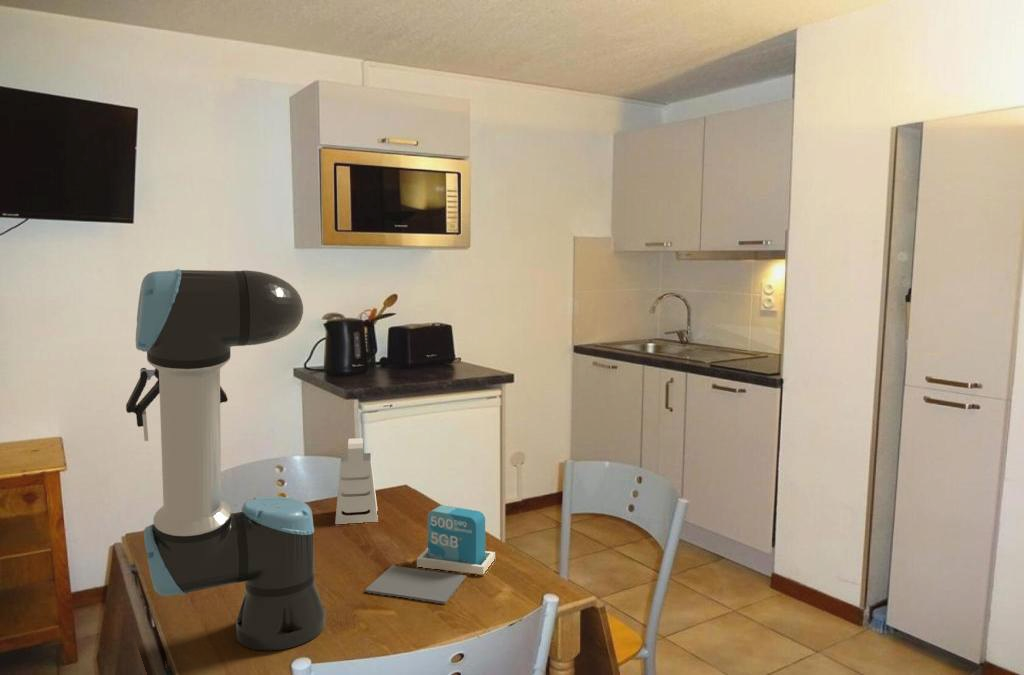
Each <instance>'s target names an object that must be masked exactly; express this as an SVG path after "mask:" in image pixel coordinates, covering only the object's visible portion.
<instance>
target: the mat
mask: <svg viewBox="0 0 1024 675" xmlns="http://www.w3.org/2000/svg"><path fill="white" fill-rule="evenodd" d="M466 577H467V574H460V573H452V572H445V571H437V570H430V569H423V568H414V567H413V568H412V567H406V566H399V565H398V566H397V565H391V566H390V567H389V568H387V569H386V570H385V571H384V572H383V573H382V574H381V575H380V576H378V578H376V580H374V581H373V582H371V584H370V585H368V586H367V588H365V589H364V593H365V592H368V593H367V594H371V593H373V595H377V594H380V595H379V596H384V595H388V596H387V597H391V596H397V597H396V598H398V597H403V598H402V599H404V598H409V599H408V600H411V599H415V600H414V601H418V600H422V601H421V602H425V601H430V602H429V603H431V602H436V603H435V604H438V603H443V604H442V605H447V603H448V602H449V601H450V599H451V598H452V597H453V595H454V594H455V593H456V592H457V591H456V589H457V588H458V587H459V585H460V584H461V583H462V582H463V580H464V579H465V578H466ZM466 579H467V578H466ZM463 583H464V582H463ZM463 583H462V584H463ZM462 584H461V585H462ZM459 588H460V587H459ZM459 588H458V589H459ZM458 589H457V590H458ZM455 591H456V592H455ZM454 592H455V593H454ZM453 593H454V594H453ZM451 596H452V597H451ZM450 597H451V598H450ZM449 598H450V599H449ZM447 601H448V602H447ZM446 602H447V603H446Z"/></svg>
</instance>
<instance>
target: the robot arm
mask: <svg viewBox="0 0 1024 675" xmlns="http://www.w3.org/2000/svg"><path fill="white" fill-rule="evenodd" d="M138 296H139V297H138V304H137V314H136V329H135V348H136V350H138V351H141V352H146V360H147V363H148V364H149V365H151V366H152V367H154V368H155V369H147V368H146V367H142V368H140V370H139V371H140V372H139V373H140V374H139V378H138V381H137V382H136V384H135V387H134V389H133V390H132V392H131V394H130V396H129V397H128V398H129V399H128V400H127V401H126V405H125V410H126V413H128V414H131V413H133V414H135V415H136V416H135V417H136V426H137V427H139V428H140V427H143V438H144V439H143V440H144V442H148V441H149V432H148V421H147V420H148V419H147V408H148V407H149V406H150V404H151V403H152V402H153V401H154V400H155V399H156V398H157V397H158V396H159V411H160V412H159V413H160V415H159V416H160V417H159V418H160V441H161V442H160V443H161V446H160V447H161V468H162V469H161V472H162V473H161V474H162V499H163V501H162V502H163V506H161V507H160V508H159V509H158V510H157V511H156V512H155V514H154V516H153V523H152V524H150V525H148V526H145V528H144V529H143V537H144V538H143V539H144V547H145V551H146V557H147V563H148V569H149V574H150V579H151V583H152V586H153V589H154V592H156V594H157V595H159V596H162V597H169V596H174V595H176V596H177V595H184V596H185V595H188V594H189V593H194V592H198V591H204V590H208V589H213V588H218V587H223V586H228V585H233V584H238V583H243V582H245V590H244V595H243V599H242V602H241V605H240V607H239V608H240V609H239V612H238V615H237V618H236V622H235V636H236V640H237V641H238V643H239V644H241V645H242V646H244V647H246V648H247V649H251V650H255V651H256V650H257V651H280V650H287V649H291V648H295V647H298V646H301V645H303V644H305V643H308V642H309V641H311V640H313V639H315V638H316V637H317V636H319V635H320V634H321V633H322V631H323V630H324V629H325V627H326V610H325V606H324V605H323V603H322V599H321V597H320V594H319V591H318V588H317V586H316V583H315V582H316V581H315V551H314V549H315V548H314V547H315V546H314V545H315V544H314V541H315V540H314V533H315V527H314V519H313V512H312V509H311V507H310V506H309V505H308V504H307V503H306V502H303V501H301V500H299V499H296V498H292V497H286V496H285V497H284V496H260V497H254V498H253V499H249V500H247V501H245V502H243V505H242V508H241V511H239V512H233V513H232V509H231V507H230V505H229V504H228V503H227V502H226V501H225V500H222V478H221V476H222V474H221V473H222V469H221V468H222V466H221V465H222V462H221V459H222V457H221V456H222V455H221V451H222V448H221V442H222V441H221V404H222V403H226V402H228V396H227V394H226V392H225V391H224V389H223V387H222V385H221V369H222V367H224V366H225V365H226V364H227V363H228V362H229V361H230V360H231V349H232V348H231V347H245V346H257V345H261V344H266V343H270V342H275V341H277V340H280V339H283V338H284V337H287V336H289V335H290V334H292V333H293V332H294V331H296V329H297V328H298V327H299V325H300V323H301V321H302V318H303V315H304V304H303V301H302V300H303V299H302V297H301V295H300V294H299V292H298V291H297V289H295V287H294V286H293V285H292V284H290V283H289V282H288V281H286V280H285V279H282V278H280V277H278V276H276V275H273V274H270V273H266V272H262V271H256V270H205V269H204V270H202V269H201V270H200V269H198V270H197V269H196V270H195V269H194V270H193V269H180V268H179V269H173V270H159V271H158V270H157V271H152V272H149V273H147V274H146V275H145V276H144V277H143V279H142V280H141V285H140V291H139V295H138ZM152 377H155V378H156V379H157V381H156V382H155V384H154V385H153V386H152V387H151V388H150V390H148V392H147V393H146V394H145V395H144V396H143V397H142V398H141V400H140V397H141V395H142V393H143V391H144V389H145V387H146V385H147V382H148V381H150V380H151V379H152ZM139 400H140V401H139ZM138 401H139V402H138Z"/></svg>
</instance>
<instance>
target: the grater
mask: <svg viewBox="0 0 1024 675" xmlns="http://www.w3.org/2000/svg"><path fill="white" fill-rule="evenodd" d="M347 442H348V443H347V453H341V458H340V466H339V478H338V486H337V500H336V513H335V522H334V525H335V524H347V523H363V522H378V523H379V517H378V516H379V514H378V515H377V511H378V503H377V501H378V500H377V496H376V488H375V479H374V470H373V469H374V468H373V462H372V453H371V452H365V453H364V437H359V438H348V440H347ZM368 511H369V512H368ZM343 512H344V513H345V514H343ZM362 512H368V513H366V514H352V515H351V513H362ZM346 514H347V515H346ZM348 514H350V515H348Z"/></svg>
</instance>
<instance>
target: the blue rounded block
mask: <svg viewBox="0 0 1024 675" xmlns="http://www.w3.org/2000/svg"><path fill="white" fill-rule="evenodd" d="M427 548H428V558H430V559H438V560H446V561H453V562H461V563H469V564H476V565H482V563H483V562H484V561H485V551H486V516H485V515H484V512H482V511H481V510H480V511H478V510H475V509H474V510H473V509H468V508H464V507H463V508H462V507H456V506H450V505H446V504H445V505H444V504H442V505H439V506H437V507H436V508H434V509H432V510H431V511H429V512H428V514H427Z"/></svg>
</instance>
